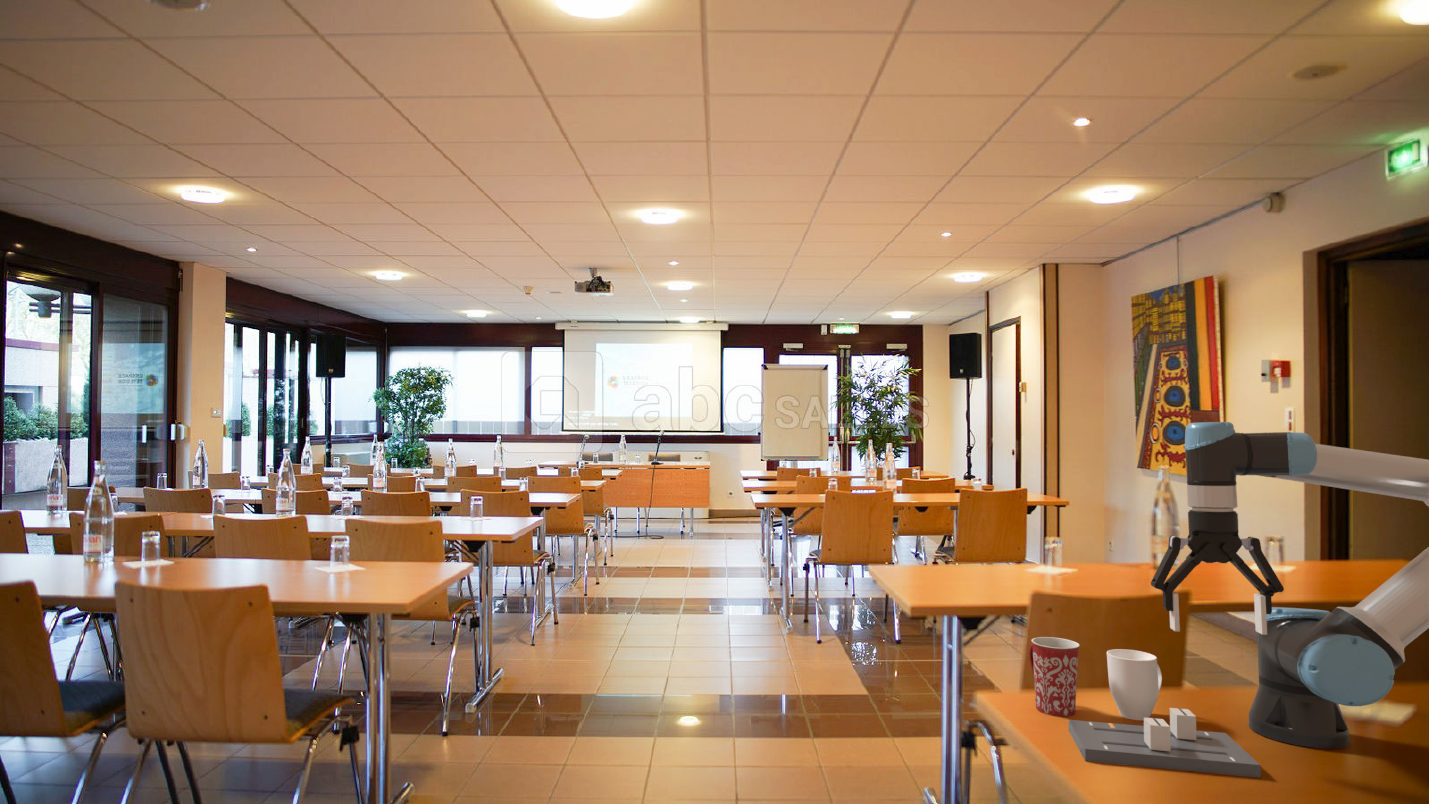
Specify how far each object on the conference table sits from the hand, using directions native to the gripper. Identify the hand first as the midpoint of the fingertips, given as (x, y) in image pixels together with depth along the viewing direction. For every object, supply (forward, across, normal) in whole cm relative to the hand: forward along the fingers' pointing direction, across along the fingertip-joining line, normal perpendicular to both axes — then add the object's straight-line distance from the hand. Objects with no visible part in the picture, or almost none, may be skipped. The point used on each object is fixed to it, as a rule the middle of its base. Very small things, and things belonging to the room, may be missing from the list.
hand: (1217, 631), depth 142 cm
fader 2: (+18, +6, 0) cm, 19 cm away
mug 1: (+20, +25, -18) cm, 37 cm away
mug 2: (+21, +9, -18) cm, 29 cm away
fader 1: (+18, +12, +7) cm, 23 cm away
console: (+20, +11, +3) cm, 23 cm away
